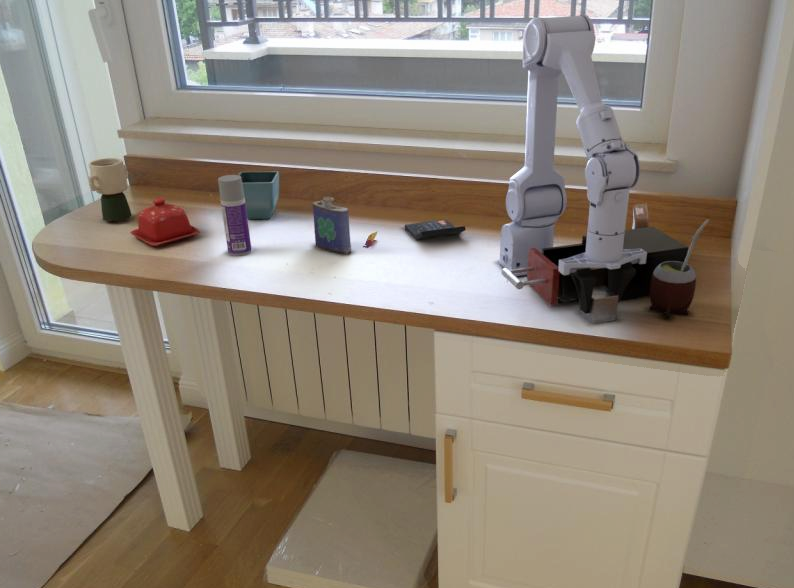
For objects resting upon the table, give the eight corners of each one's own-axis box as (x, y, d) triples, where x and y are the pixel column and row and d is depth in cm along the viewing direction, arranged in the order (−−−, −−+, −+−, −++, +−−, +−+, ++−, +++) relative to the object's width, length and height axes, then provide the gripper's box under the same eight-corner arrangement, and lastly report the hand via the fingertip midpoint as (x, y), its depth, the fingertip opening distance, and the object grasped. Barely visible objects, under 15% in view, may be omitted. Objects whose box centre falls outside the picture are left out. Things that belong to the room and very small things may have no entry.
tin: (647, 266, 151) (653, 223, 147) (630, 265, 151) (635, 222, 147) (644, 238, 164) (649, 198, 159) (628, 237, 164) (633, 197, 160)
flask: (354, 251, 160) (350, 199, 155) (343, 256, 159) (339, 203, 153) (321, 242, 166) (317, 191, 160) (311, 246, 164) (306, 195, 158)
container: (256, 249, 163) (246, 176, 155) (242, 257, 159) (232, 182, 152) (237, 246, 165) (227, 173, 157) (223, 254, 161) (212, 180, 153)
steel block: (591, 324, 130) (594, 299, 128) (579, 313, 134) (581, 288, 132) (616, 320, 131) (618, 295, 129) (602, 309, 135) (605, 285, 133)
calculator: (445, 223, 174) (445, 209, 173) (465, 240, 165) (465, 226, 163) (404, 228, 172) (404, 215, 170) (422, 246, 162) (422, 232, 161)
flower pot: (277, 222, 177) (272, 182, 173) (237, 223, 177) (232, 182, 173) (283, 209, 185) (279, 170, 180) (245, 210, 185) (240, 171, 180)
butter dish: (152, 251, 163) (144, 210, 159) (128, 237, 171) (120, 198, 166) (203, 237, 170) (197, 198, 165) (178, 224, 177) (171, 186, 173)
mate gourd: (644, 317, 132) (656, 230, 124) (650, 298, 138) (661, 214, 131) (691, 323, 130) (706, 235, 122) (695, 304, 136) (710, 218, 128)
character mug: (123, 210, 187) (111, 154, 180) (147, 214, 184) (135, 157, 177) (88, 225, 178) (74, 166, 172) (112, 229, 175) (98, 170, 169)
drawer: (519, 310, 133) (521, 273, 130) (496, 288, 142) (497, 252, 138) (621, 295, 138) (625, 258, 135) (594, 273, 146) (597, 239, 143)
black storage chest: (608, 302, 137) (613, 257, 133) (578, 278, 146) (582, 235, 142) (681, 291, 141) (688, 247, 136) (647, 268, 150) (653, 226, 146)
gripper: (575, 243, 120) (568, 325, 127) (661, 232, 124) (650, 312, 130) (555, 228, 126) (549, 307, 133) (637, 218, 129) (627, 295, 136)
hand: (598, 308), depth 132 cm, fingers closed on steel block, 4 cm apart
